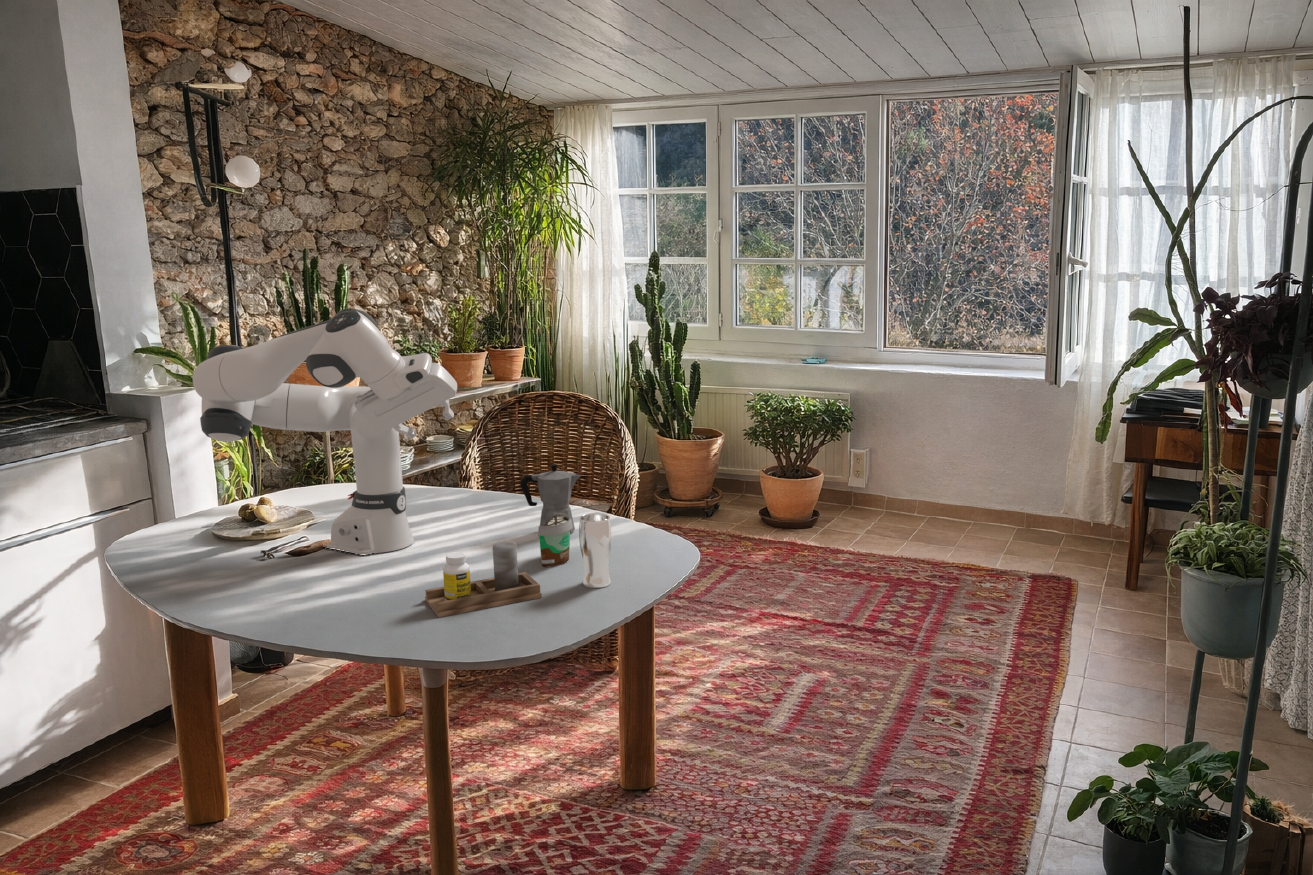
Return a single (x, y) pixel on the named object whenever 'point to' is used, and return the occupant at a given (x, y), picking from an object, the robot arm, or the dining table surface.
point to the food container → (555, 540)
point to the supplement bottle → (456, 576)
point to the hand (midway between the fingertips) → (432, 426)
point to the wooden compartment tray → (490, 586)
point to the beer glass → (595, 549)
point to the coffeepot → (552, 492)
